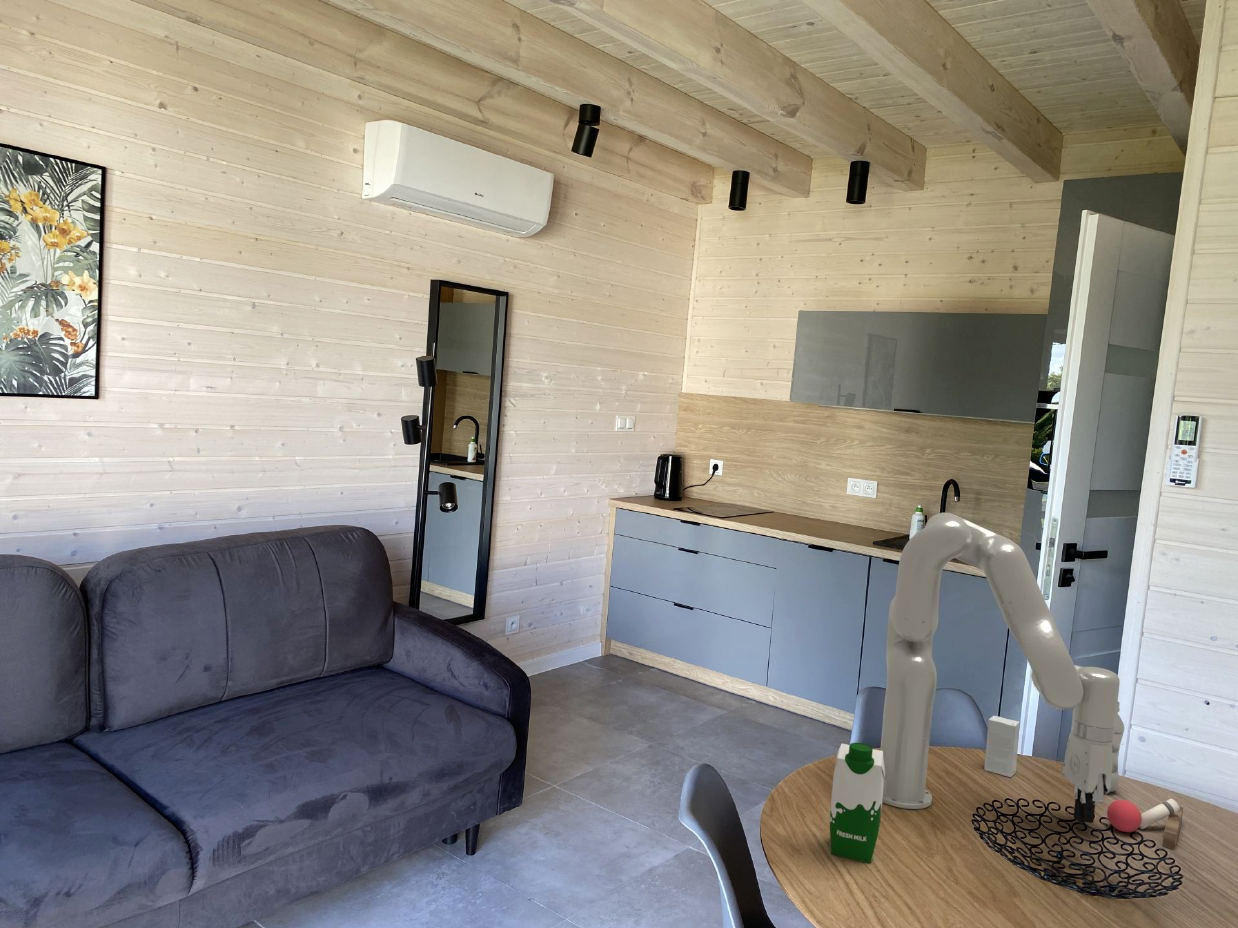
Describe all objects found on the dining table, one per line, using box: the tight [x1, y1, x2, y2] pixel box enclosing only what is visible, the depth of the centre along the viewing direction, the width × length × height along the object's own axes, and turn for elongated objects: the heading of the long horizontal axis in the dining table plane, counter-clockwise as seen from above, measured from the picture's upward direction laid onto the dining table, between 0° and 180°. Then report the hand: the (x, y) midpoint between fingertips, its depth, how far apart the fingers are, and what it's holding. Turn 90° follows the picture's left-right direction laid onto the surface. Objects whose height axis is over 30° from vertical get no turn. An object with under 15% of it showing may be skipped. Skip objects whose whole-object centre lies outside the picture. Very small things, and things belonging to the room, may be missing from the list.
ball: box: [1106, 799, 1142, 833], centre depth 177 cm, size 6×6×6 cm
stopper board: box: [1162, 806, 1184, 851], centre depth 177 cm, size 16×2×3 cm, turn 143°
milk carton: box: [829, 742, 885, 864], centre depth 161 cm, size 9×9×20 cm
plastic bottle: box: [1109, 701, 1125, 793], centre depth 196 cm, size 6×7×20 cm
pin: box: [1139, 798, 1181, 830], centre depth 179 cm, size 2×2×9 cm
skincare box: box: [983, 715, 1021, 778], centre depth 203 cm, size 6×4×12 cm
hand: (1083, 820), depth 177 cm, fingers closed
